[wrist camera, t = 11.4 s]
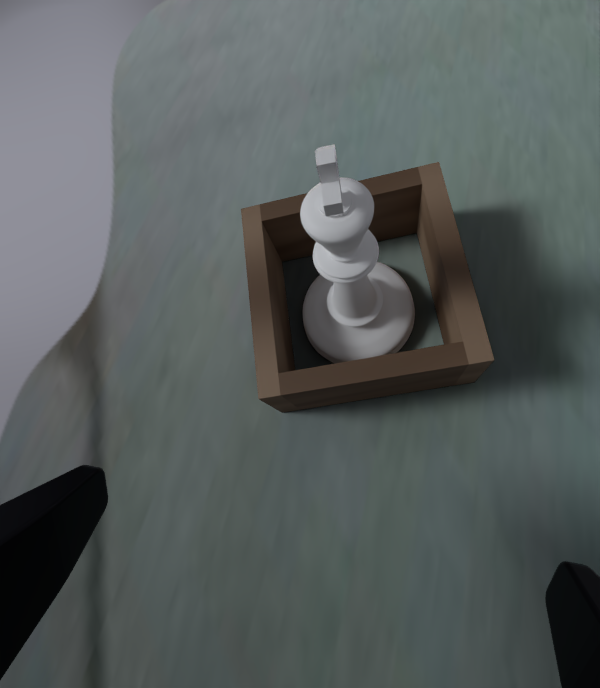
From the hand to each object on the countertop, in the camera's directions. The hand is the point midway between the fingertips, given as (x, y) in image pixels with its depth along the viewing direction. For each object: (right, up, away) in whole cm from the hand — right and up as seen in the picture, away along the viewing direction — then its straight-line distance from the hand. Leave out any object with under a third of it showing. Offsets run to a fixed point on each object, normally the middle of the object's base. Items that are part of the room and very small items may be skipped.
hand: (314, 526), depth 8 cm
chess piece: (+2, +5, +11) cm, 12 cm away
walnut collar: (+2, +5, +11) cm, 12 cm away
